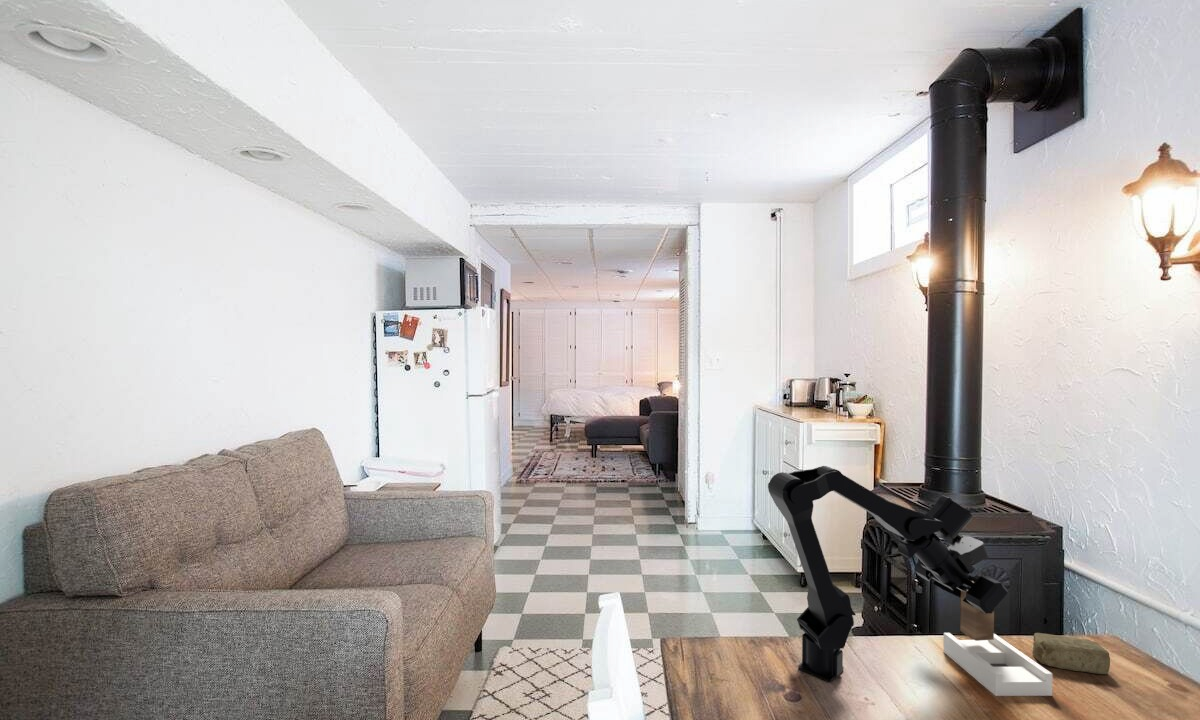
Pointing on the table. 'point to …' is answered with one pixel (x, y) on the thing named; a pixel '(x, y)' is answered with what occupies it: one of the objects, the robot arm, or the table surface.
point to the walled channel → (999, 666)
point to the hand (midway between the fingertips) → (983, 606)
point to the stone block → (1071, 653)
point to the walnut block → (976, 621)
